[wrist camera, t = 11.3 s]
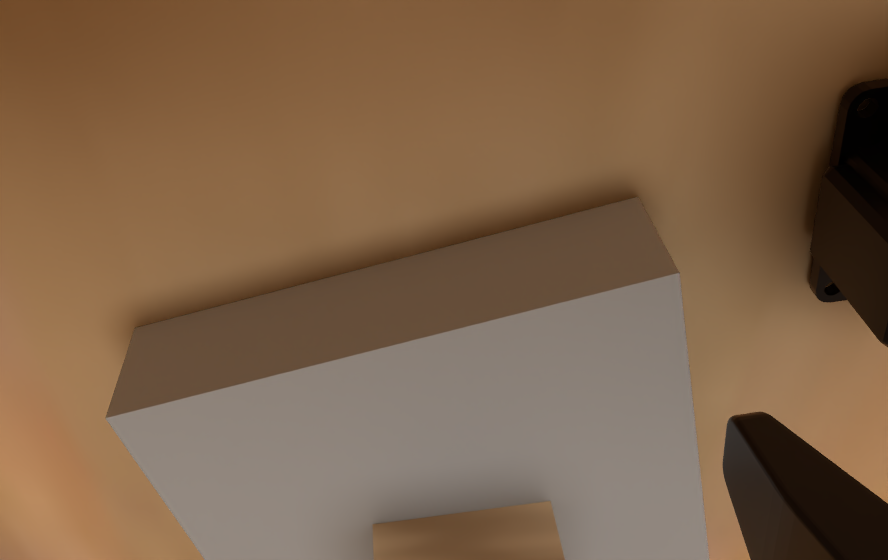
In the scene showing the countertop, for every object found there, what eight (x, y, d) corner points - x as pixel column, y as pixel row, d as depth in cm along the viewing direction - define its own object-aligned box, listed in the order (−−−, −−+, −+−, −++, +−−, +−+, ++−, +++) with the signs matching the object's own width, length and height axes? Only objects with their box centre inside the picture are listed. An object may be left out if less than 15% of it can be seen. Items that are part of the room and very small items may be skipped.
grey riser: (632, 186, 23) (679, 272, 19) (684, 572, 33) (720, 670, 30) (138, 315, 24) (105, 418, 20) (341, 650, 34) (340, 753, 31)
